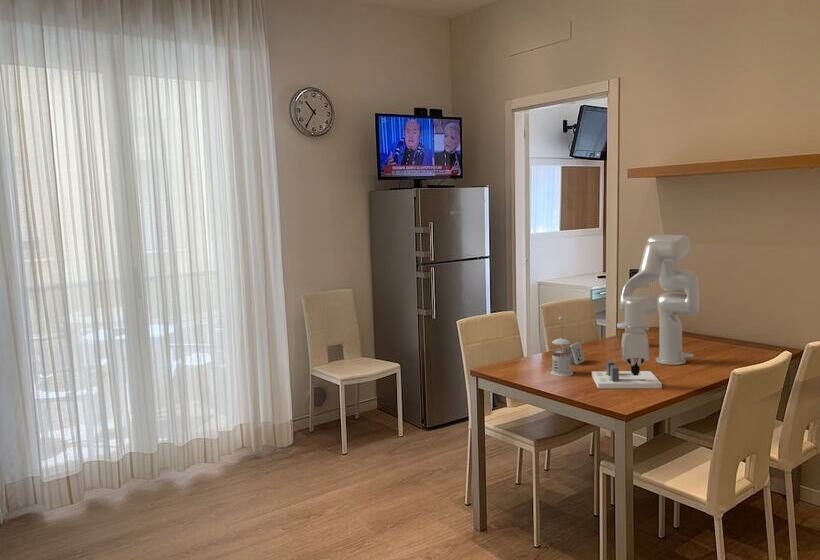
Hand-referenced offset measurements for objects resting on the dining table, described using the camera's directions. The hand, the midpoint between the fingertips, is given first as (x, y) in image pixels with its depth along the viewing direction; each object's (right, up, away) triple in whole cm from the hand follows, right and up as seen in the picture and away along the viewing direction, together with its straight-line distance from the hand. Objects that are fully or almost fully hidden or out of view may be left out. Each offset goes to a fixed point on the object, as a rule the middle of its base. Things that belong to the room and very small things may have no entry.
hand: (635, 374), depth 256 cm
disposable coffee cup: (+20, +4, +69) cm, 72 cm away
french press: (-24, -3, +24) cm, 34 cm away
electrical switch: (-13, -1, +40) cm, 42 cm away
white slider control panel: (-2, -4, +5) cm, 7 cm away
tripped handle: (-8, -2, +1) cm, 8 cm away
